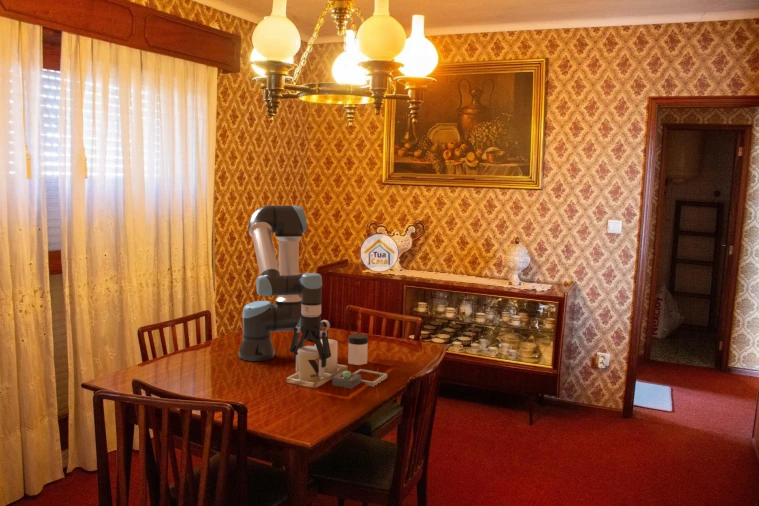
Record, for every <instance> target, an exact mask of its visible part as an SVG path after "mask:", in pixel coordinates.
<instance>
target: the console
mask: <svg viewBox="0 0 759 506" xmlns="http://www.w3.org/2000/svg"><path fill="white" fill-rule="evenodd" d="M361 380H362V374H359V373H357V374H354V372H351V377H350V378H345V377H343V371H342V372H341V373H339V374H337V375H335V376H334V377H332V379H331V385H332V386H334V387H340V388H345V389H350V390H352V389H353V388H355V387H356V386H358V385H359V384H361V383H362V382H361Z"/></svg>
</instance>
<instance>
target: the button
mask: <svg viewBox="0 0 759 506" xmlns="http://www.w3.org/2000/svg"><path fill="white" fill-rule="evenodd" d="M351 373H352V372H351V370H347V371H343V377H345V378H350V377H351Z"/></svg>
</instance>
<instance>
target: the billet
mask: <svg viewBox="0 0 759 506" xmlns="http://www.w3.org/2000/svg"><path fill="white" fill-rule="evenodd" d="M320 339H321V343H322V338H320ZM328 341H329V347H330V352H331V357H329V358H326V367H324V373H329V374H332V373H333V372H335V371H337V364H338V351H339V349H338V348H339V347H338V345H339V344H338V343H339V341H337V340H336V339H332V338H328ZM322 345H323V343H322ZM314 346H316V345H315V344H314Z"/></svg>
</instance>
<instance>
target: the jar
mask: <svg viewBox="0 0 759 506" xmlns="http://www.w3.org/2000/svg"><path fill="white" fill-rule="evenodd" d="M347 341H348V348H347V349H348V350H347V351H348V355H347V359H348V360H347V362H348V364H350V365H356V366H361V365H367V364H368V348H369V347H368V346H369V345H368V344H369V343H368V341H369V336H368V335H367V334H365V333H364V334H363V333H351V334H349V335H348V340H347Z"/></svg>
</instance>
